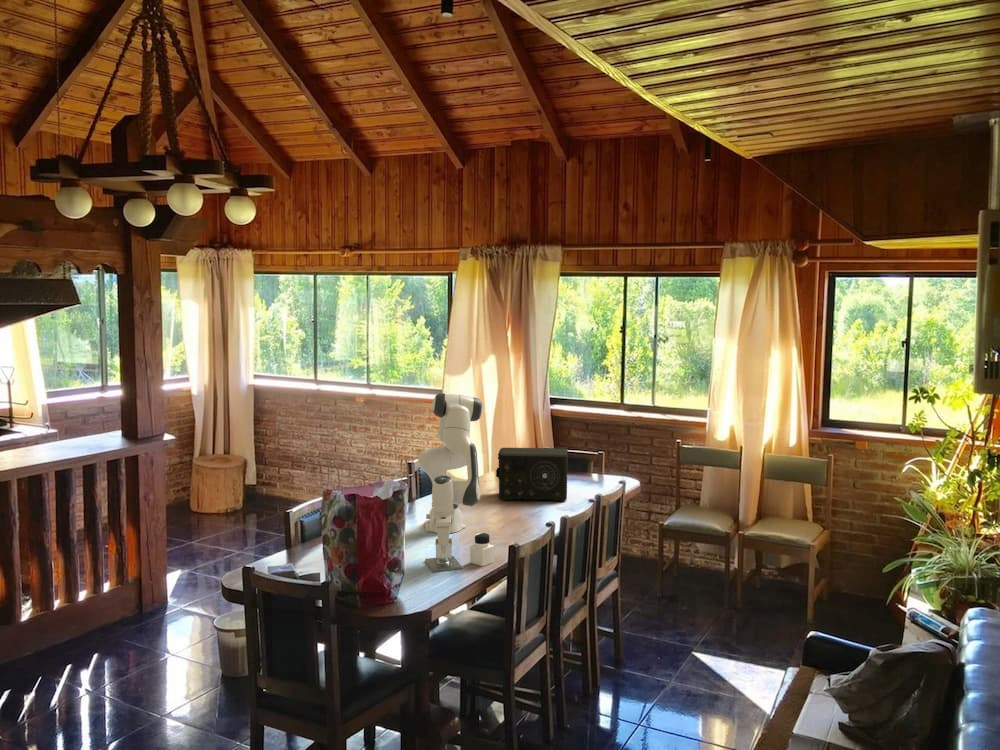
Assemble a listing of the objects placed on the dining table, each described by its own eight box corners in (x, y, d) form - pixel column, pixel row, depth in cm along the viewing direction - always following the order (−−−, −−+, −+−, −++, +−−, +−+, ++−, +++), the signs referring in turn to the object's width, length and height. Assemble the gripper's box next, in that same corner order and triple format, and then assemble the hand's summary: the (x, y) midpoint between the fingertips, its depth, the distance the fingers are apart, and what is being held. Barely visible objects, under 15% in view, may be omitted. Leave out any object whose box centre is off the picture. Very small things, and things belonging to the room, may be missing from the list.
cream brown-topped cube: (435, 552, 357) (435, 538, 356) (451, 552, 357) (451, 538, 356) (435, 558, 350) (435, 543, 349) (452, 557, 350) (451, 543, 350)
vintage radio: (494, 502, 451) (494, 454, 448) (498, 492, 471) (497, 447, 468) (567, 503, 448) (567, 455, 445) (567, 494, 467) (567, 448, 464)
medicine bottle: (494, 562, 357) (494, 533, 356) (482, 566, 352) (482, 537, 351) (481, 558, 362) (481, 530, 361) (469, 562, 357) (469, 534, 355)
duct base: (424, 561, 359) (424, 548, 358) (453, 558, 362) (453, 545, 362) (432, 572, 346) (432, 559, 345) (461, 568, 349) (461, 555, 349)
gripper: (435, 509, 362) (436, 542, 363) (435, 523, 342) (435, 558, 343) (450, 509, 362) (451, 541, 364) (451, 523, 342) (451, 557, 344)
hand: (443, 549), depth 353 cm, fingers closed on cream brown-topped cube, 6 cm apart
